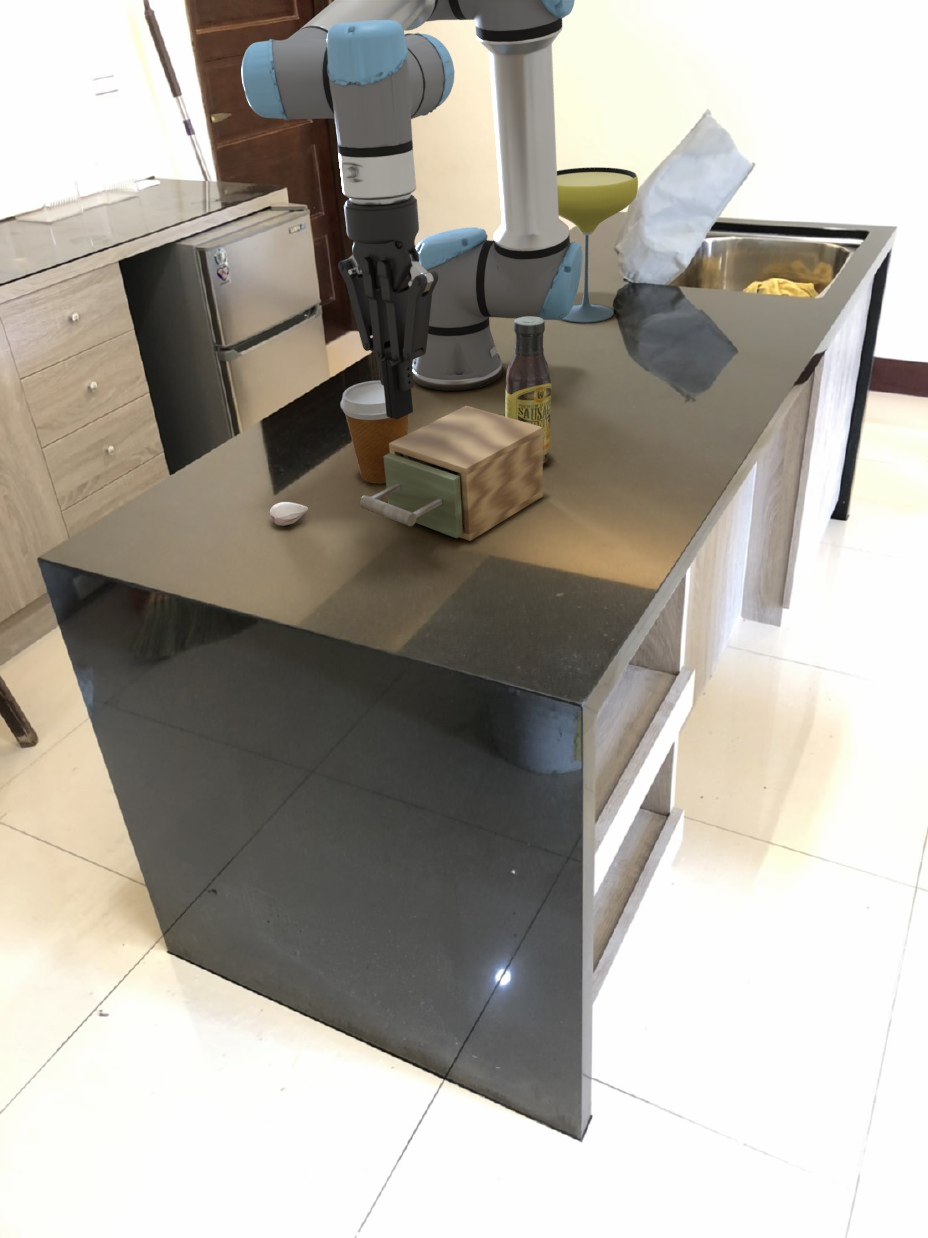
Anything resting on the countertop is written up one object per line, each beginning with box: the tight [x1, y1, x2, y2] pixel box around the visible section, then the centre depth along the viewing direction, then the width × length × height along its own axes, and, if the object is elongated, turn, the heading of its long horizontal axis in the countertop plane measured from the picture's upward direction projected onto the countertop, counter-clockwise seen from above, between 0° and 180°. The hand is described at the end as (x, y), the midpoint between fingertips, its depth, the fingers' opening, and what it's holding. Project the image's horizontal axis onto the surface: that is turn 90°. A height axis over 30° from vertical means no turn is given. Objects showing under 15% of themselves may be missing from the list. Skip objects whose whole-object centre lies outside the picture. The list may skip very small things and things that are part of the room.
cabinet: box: [389, 405, 544, 542], centre depth 129 cm, size 15×13×10 cm
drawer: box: [359, 453, 464, 539], centre depth 126 cm, size 20×12×8 cm, turn 139°
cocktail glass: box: [557, 166, 639, 324], centre depth 189 cm, size 18×18×25 cm
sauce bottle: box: [504, 316, 552, 465], centre depth 136 cm, size 6×6×20 cm
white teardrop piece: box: [269, 501, 309, 526], centre depth 130 cm, size 4×5×2 cm
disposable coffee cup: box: [339, 380, 409, 484], centre depth 137 cm, size 10×10×12 cm
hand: (399, 414), depth 116 cm, fingers closed
